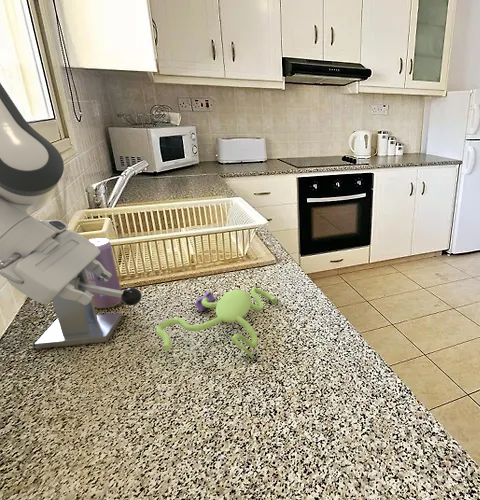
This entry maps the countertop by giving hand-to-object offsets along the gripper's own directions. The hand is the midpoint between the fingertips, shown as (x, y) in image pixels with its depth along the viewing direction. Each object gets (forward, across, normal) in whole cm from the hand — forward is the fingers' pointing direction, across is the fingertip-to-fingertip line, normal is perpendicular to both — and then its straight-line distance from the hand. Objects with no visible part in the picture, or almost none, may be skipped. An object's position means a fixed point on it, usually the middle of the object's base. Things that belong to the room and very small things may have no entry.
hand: (100, 289), depth 73 cm
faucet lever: (+1, +1, +2) cm, 2 cm away
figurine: (+23, -3, -9) cm, 25 cm away
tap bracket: (+3, +1, +10) cm, 11 cm away
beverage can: (+4, +13, +10) cm, 16 cm away
